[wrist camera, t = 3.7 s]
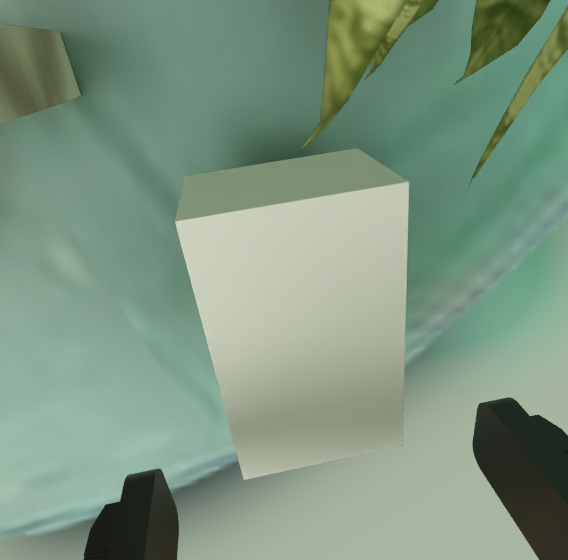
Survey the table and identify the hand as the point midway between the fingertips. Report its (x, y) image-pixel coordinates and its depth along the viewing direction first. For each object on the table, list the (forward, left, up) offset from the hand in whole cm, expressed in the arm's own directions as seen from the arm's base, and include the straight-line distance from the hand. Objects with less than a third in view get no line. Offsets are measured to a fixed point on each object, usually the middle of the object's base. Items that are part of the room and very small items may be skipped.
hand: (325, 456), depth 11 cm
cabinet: (-2, 0, -11) cm, 11 cm away
